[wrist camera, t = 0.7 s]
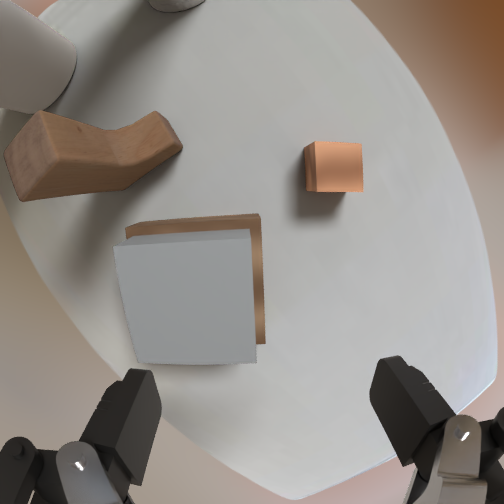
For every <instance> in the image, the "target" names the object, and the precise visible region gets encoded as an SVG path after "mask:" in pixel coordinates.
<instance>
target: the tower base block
mask: <svg viewBox="0 0 504 504" xmlns="http://www.w3.org/2000/svg"><path fill="white" fill-rule="evenodd" d="M235 229H250V235H251V250H252V271H253V293H254V314H255V336H256V344H266V342H265V313H264V285H263V260H262V236H261V218H260V216H259V214H241V215H224V216H209V217H195V218H181V219H169V220H157V221H146V222H139V223H136V224H134V225H131V226H129V227H126V228H125V230H126V238H127V239H129V238H131V237H132V236H141V235H155V234H169V233H184V232H200V231H217V230H235Z"/></svg>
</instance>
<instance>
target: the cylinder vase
mask: <svg viewBox="0 0 504 504" xmlns="http://www.w3.org/2000/svg"><path fill="white" fill-rule="evenodd" d="M76 59H77V54H76V49H75V46H74V44H73V43H72V42H71V41H69V40H68V39H67V38H65V37H64V36H62V35H61V34H60V33H58V32H57V31H55V30H54V29H53V28H51V27H50V26H48V25H47V24H45V23H44V22H42V21H41V20H39V19H38V18H36V17H35V16H33V15H32V14H30V13H29V12H27V11H26V10H24V9H23V8H21V7H19V6H18V5H16V4H15V3H13V2H12V1H10V0H0V108H4V109H9V110H14V111H18V112H22V113H27V114H34V113H36V112H37V111H39V110H44V109H46V108H47V107H49V106H50V105H51V104H52V103H53V102H54V101H55V100H56V99H57V98H58V97H59V96H60V95H61V93H62V92H63V91H64V89H65V88H66V86H67V84H68V83H69V81H70V79H71V77H72V74H73V72H74V69H75V65H76Z"/></svg>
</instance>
